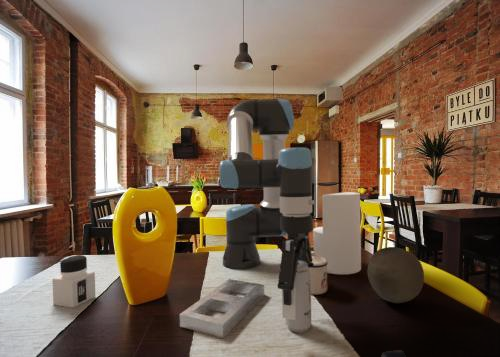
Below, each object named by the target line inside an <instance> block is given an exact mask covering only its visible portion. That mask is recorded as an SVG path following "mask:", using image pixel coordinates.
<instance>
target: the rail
mask: <svg viewBox="0 0 500 357" xmlns="http://www.w3.org/2000/svg"><path fill="white" fill-rule="evenodd" d="M231 293H236V294H241V295H243V297H242V296H239V295H233V294H231ZM264 296H265V284H263V283H254V282H249V281H242V280H236V279H230V278H229V279H227V280H226V281H224V282H223V283H222V284H220V285H219V286H218V287H216V288H214V289H213V290H211V292H209V293H208V294H206V295H205V296H203V297H202V298H200V299H199V300H198V301H196V302H195V303H193V304H192V305H191V306H189V307H188V308H187V309H184V310H183V311H182V312H181V313H179V327H180V328H183V329H188V330H190V331H195V332H199V333H203V334H206V335H210V336H214V337H216V338H221V339H223V338H225V337H226V336H227V334H228V333H230V332H231V330H233V328H234V327H236V326H237V324H238V323H239V322H240V321H241V320H242V319H243V318H244V317H245V316H246V315H247V314H248V313H249V311H251V309H252V308H254V306H256V304H257V303H258V302H259V301H260V300H261V299H262V298H263V297H264ZM211 310H212V311H216V312H220V313H224V314H223V315H222V316H220V318H219V317H215V316H210V315H206V314H207V313H208V312H209V311H211Z"/></svg>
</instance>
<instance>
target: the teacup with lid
mask: <svg viewBox="0 0 500 357" xmlns="http://www.w3.org/2000/svg"><path fill="white" fill-rule="evenodd" d="M311 254H312V262H311V263H314V266H313V267H309V268H310V276H311V295H322V294H325V293H327V291H328V273H327V264H328V263H327V260H326V259H325V258H323V257H320V256H318V255H316V253H315V252H314V250H311Z"/></svg>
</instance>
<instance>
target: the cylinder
mask: <svg viewBox="0 0 500 357" xmlns="http://www.w3.org/2000/svg"><path fill="white" fill-rule="evenodd" d="M321 197H322V199H321V202H322V204H321V205H322V206H321V210H322V212H321V213H322V215H321V216H322V226H317V227H313V230H312V232H313V233H312V234H313V251H314V252H315V253H316V255H318V256H320V257H323V258H325V259H326V260H327V263H328V264H327V274H334V275H351V274H352V275H353V274H357V273H358V272H359V273H360V271H361V270H362V246H361V242H362V240H361V238H362V236H361V234H362V233H361V228H362V227H361V194H360V192H352V191H346V192H344V191H343V192H337V193H336V192H335V193H326V194H322V195H321Z"/></svg>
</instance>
